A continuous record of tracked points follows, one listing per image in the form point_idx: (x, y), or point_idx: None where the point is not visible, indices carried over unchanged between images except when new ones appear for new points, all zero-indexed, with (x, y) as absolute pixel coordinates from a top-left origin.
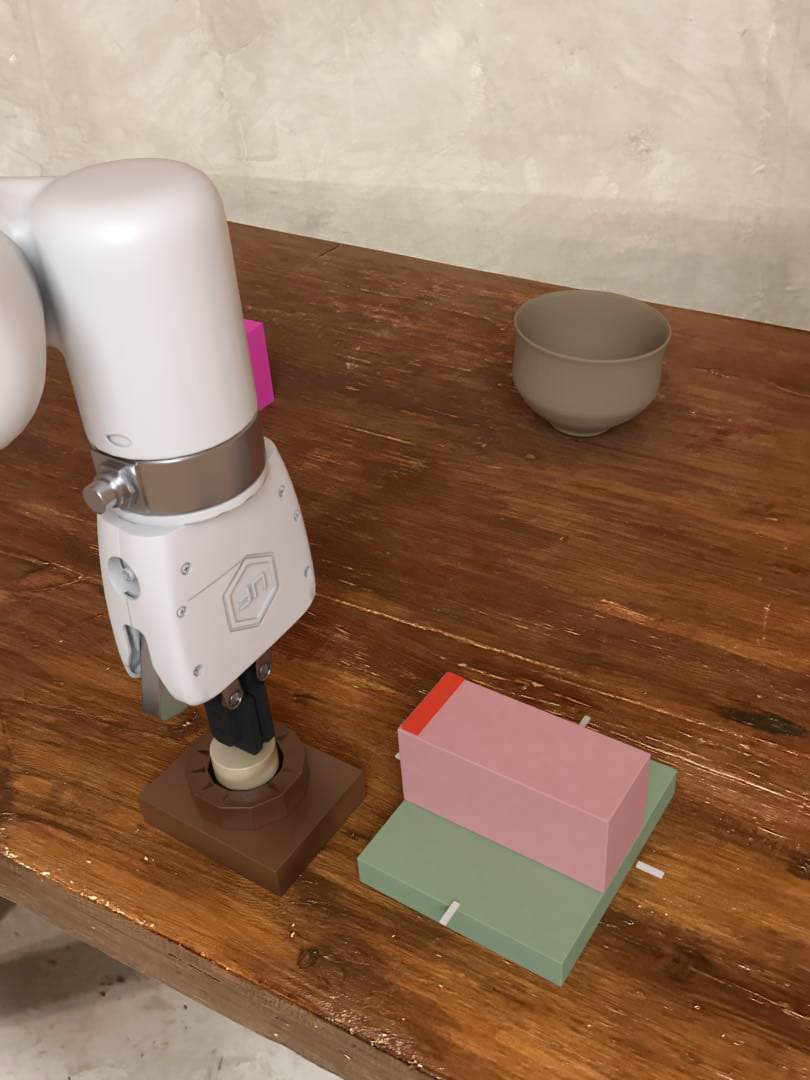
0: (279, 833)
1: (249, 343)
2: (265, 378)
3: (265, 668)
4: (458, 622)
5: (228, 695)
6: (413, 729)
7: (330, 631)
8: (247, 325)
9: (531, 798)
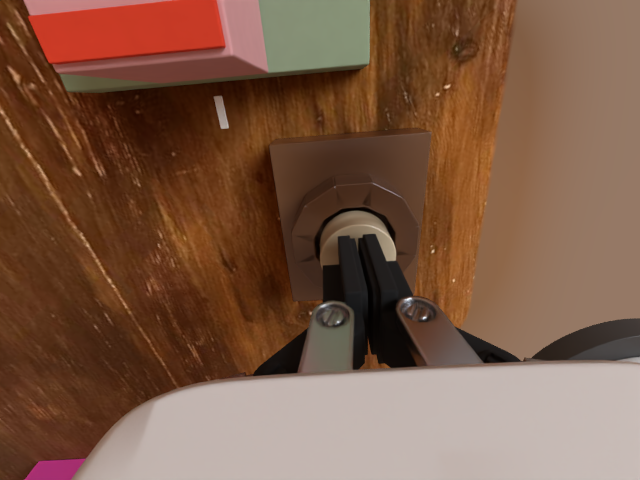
0: (387, 164)
1: None
2: None
3: (328, 316)
4: (43, 212)
5: (442, 324)
6: (213, 10)
7: (158, 294)
8: None
9: None
